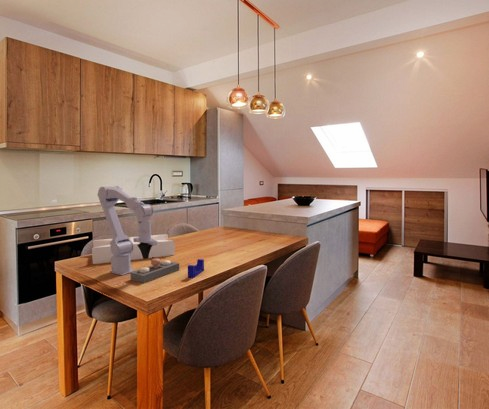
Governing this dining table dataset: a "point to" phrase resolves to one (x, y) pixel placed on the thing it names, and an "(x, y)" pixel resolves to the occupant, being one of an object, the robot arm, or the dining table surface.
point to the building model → (104, 254)
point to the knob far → (166, 262)
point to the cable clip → (196, 268)
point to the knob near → (144, 270)
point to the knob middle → (155, 263)
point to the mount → (154, 272)
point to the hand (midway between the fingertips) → (145, 258)
